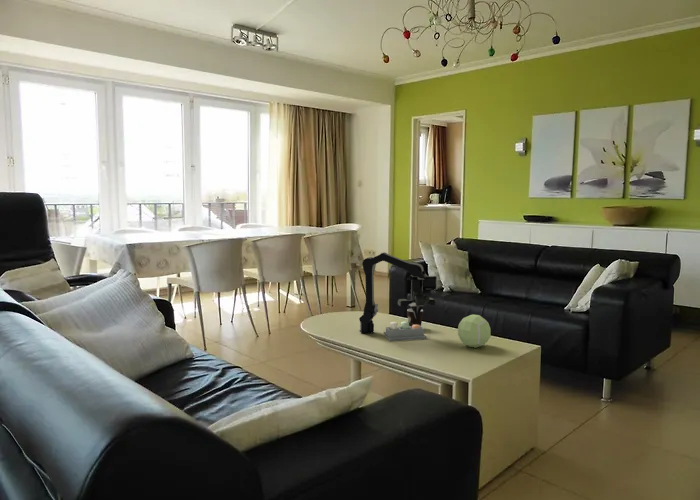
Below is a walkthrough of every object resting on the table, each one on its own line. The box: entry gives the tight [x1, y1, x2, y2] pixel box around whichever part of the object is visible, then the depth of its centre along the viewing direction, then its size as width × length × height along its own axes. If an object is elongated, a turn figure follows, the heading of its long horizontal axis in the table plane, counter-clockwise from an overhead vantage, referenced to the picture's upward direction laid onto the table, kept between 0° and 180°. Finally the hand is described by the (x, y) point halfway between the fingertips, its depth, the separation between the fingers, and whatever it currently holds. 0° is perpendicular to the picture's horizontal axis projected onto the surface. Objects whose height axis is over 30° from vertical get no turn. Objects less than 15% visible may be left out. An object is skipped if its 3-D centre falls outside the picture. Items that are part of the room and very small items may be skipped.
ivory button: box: [389, 321, 398, 330], centre depth 265 cm, size 4×4×4 cm
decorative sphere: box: [457, 314, 491, 349], centre depth 248 cm, size 15×15×15 cm
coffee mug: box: [406, 308, 424, 327], centre depth 285 cm, size 12×9×10 cm
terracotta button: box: [412, 325, 420, 329], centre depth 267 cm, size 4×4×4 cm
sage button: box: [400, 320, 409, 329], centre depth 266 cm, size 4×4×4 cm
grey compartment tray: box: [383, 325, 428, 342], centre depth 267 cm, size 19×13×4 cm
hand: (416, 318), depth 267 cm, fingers closed
